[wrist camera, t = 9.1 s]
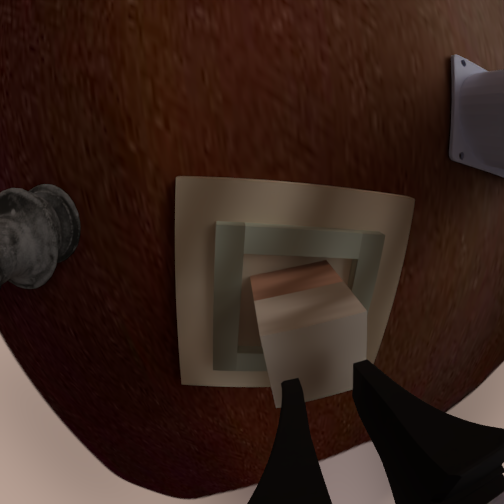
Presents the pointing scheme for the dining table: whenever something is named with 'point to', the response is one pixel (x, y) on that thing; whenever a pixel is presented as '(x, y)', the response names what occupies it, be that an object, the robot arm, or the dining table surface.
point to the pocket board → (274, 262)
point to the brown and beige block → (309, 329)
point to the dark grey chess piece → (35, 234)
